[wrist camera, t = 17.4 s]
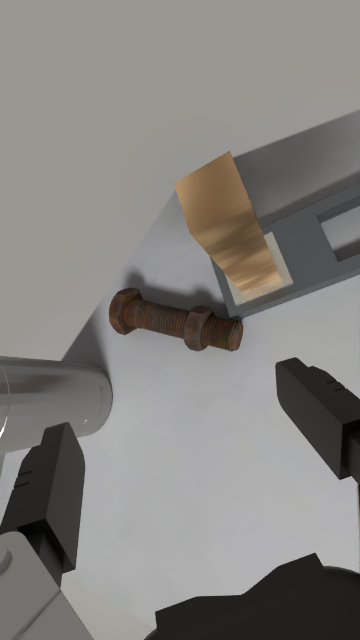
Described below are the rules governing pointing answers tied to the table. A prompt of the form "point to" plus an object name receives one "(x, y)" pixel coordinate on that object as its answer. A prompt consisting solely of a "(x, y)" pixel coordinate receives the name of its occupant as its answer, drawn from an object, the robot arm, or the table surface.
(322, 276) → the socket plate
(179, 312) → the bolt
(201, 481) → the table surface
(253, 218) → the wooden peg
